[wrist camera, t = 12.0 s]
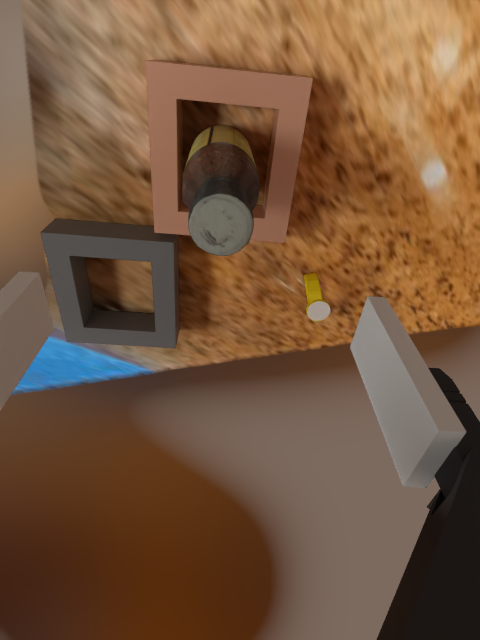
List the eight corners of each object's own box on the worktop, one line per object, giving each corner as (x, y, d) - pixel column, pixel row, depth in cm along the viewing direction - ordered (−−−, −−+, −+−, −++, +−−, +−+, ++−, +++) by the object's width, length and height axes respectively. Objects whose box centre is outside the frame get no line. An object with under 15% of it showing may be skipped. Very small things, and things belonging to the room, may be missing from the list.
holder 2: (160, 218, 42) (154, 232, 39) (154, 59, 34) (145, 60, 30) (281, 228, 43) (284, 242, 40) (305, 75, 34) (313, 78, 31)
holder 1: (77, 323, 51) (67, 341, 48) (55, 218, 42) (40, 232, 39) (179, 329, 52) (175, 348, 49) (178, 228, 43) (173, 242, 40)
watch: (296, 268, 47) (303, 290, 42) (318, 264, 46) (327, 285, 41) (303, 308, 50) (309, 333, 45) (323, 304, 50) (332, 329, 44)
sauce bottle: (201, 191, 41) (177, 283, 25) (184, 129, 37) (143, 190, 21) (259, 178, 40) (274, 265, 24) (248, 114, 36) (256, 165, 20)
